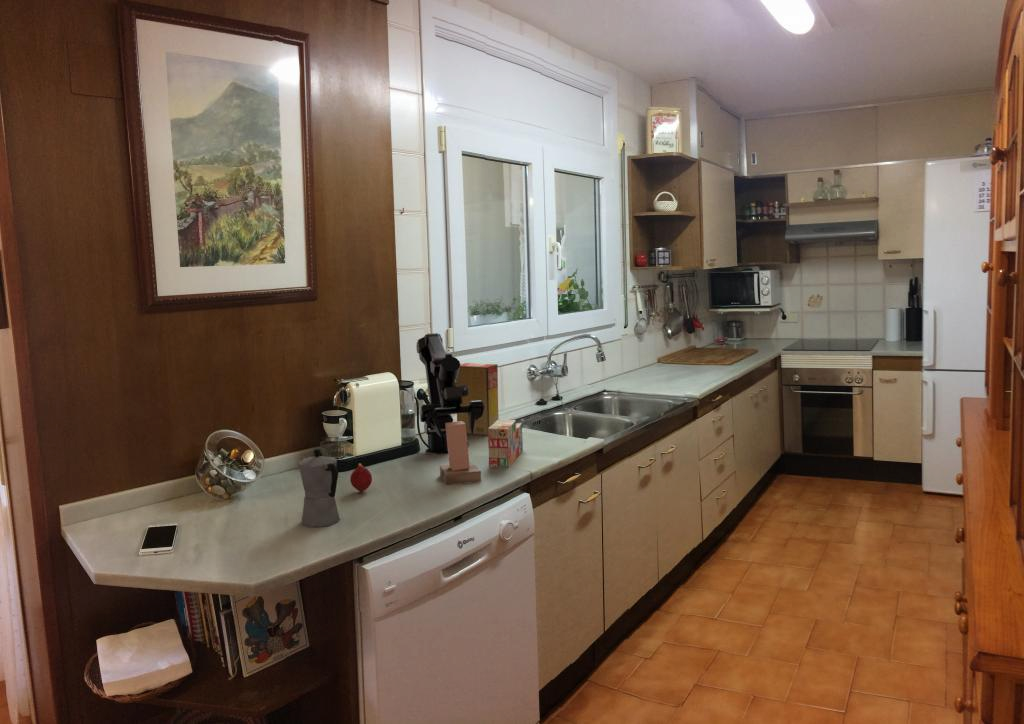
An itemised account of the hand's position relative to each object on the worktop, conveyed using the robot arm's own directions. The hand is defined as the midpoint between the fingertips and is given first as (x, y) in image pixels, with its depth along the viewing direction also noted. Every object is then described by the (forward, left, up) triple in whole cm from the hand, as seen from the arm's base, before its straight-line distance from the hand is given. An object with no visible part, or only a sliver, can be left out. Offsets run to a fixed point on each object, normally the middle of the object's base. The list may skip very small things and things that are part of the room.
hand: (456, 435), depth 219 cm
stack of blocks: (+3, +23, -12) cm, 26 cm away
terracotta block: (+2, -2, -9) cm, 9 cm away
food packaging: (-26, +51, -12) cm, 58 cm away
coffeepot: (-7, -48, -12) cm, 50 cm away
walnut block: (+2, -2, -13) cm, 13 cm away
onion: (-15, -25, -12) cm, 32 cm away
